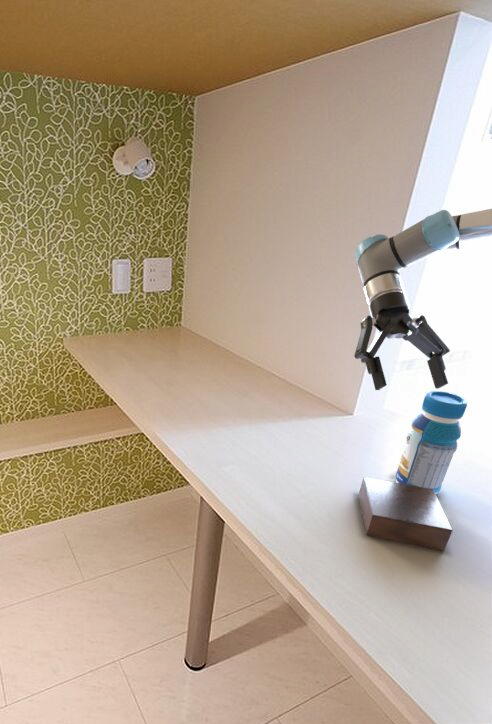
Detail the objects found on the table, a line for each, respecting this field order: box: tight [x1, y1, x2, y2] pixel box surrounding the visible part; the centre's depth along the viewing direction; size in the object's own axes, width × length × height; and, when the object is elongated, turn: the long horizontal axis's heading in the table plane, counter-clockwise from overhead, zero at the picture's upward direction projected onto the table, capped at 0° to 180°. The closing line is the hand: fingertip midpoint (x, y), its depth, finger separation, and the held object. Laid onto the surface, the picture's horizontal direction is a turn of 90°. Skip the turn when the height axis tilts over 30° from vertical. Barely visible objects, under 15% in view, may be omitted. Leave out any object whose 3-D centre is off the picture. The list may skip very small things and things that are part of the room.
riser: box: [357, 476, 454, 552], centre depth 79 cm, size 12×12×4 cm
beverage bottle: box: [394, 390, 468, 495], centre depth 86 cm, size 8×8×20 cm
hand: (411, 387), depth 91 cm, fingers open, 13 cm apart
